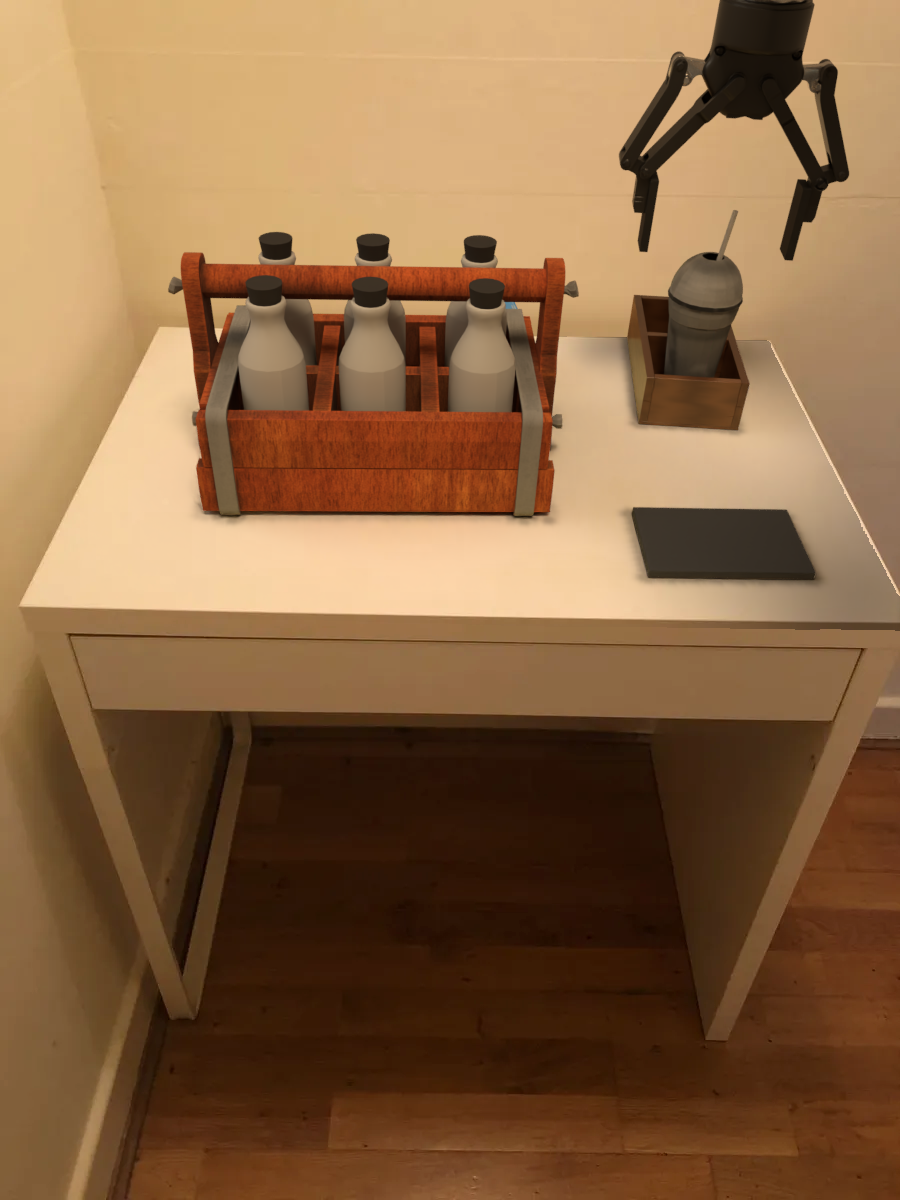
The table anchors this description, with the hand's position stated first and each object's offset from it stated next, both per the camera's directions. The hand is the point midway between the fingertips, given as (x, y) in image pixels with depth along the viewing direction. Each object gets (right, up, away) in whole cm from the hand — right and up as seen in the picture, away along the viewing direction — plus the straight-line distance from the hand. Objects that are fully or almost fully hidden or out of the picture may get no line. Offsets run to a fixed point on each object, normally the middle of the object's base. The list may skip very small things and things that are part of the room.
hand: (714, 251), depth 93 cm
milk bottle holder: (-32, -19, +1) cm, 37 cm away
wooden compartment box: (0, -9, +14) cm, 17 cm away
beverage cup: (0, -12, +11) cm, 16 cm away
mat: (-2, -29, -8) cm, 30 cm away
